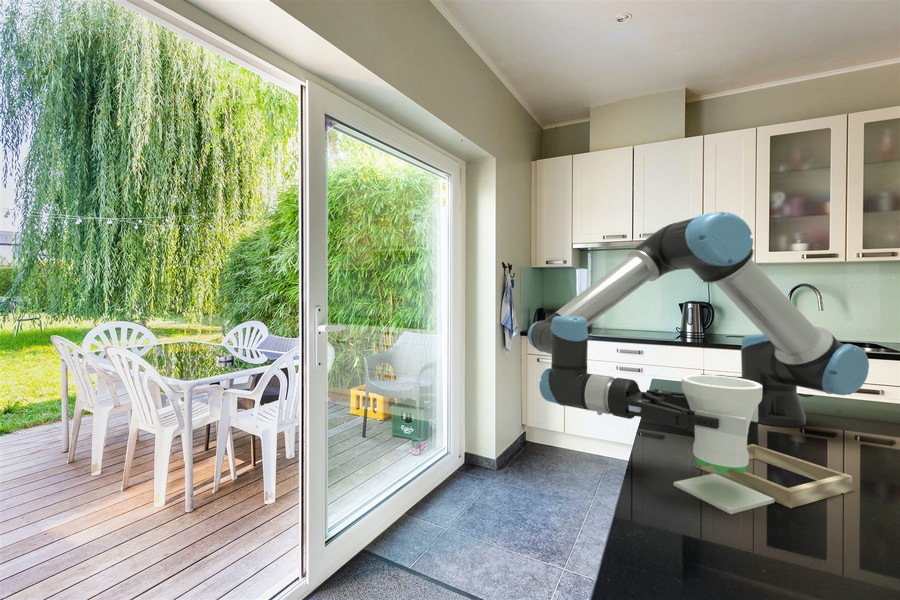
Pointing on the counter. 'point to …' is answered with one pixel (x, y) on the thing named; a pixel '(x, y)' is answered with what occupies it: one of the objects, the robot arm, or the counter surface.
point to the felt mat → (724, 493)
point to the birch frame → (799, 495)
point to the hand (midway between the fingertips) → (752, 420)
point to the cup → (722, 399)
